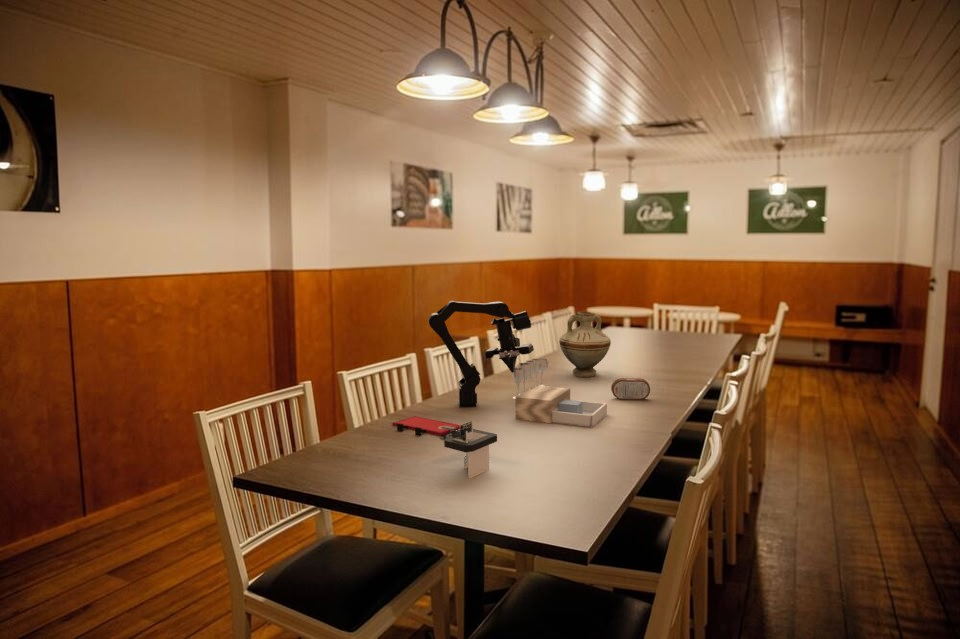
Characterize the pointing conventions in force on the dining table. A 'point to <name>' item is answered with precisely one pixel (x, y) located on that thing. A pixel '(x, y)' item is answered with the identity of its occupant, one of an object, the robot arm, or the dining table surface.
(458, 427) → the red board with handle
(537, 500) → the dining table surface
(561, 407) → the block
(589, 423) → the tray
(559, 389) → the wood grain box
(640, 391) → the tin
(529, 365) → the goblet set
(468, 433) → the black-topped pedestal
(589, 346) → the amphora
